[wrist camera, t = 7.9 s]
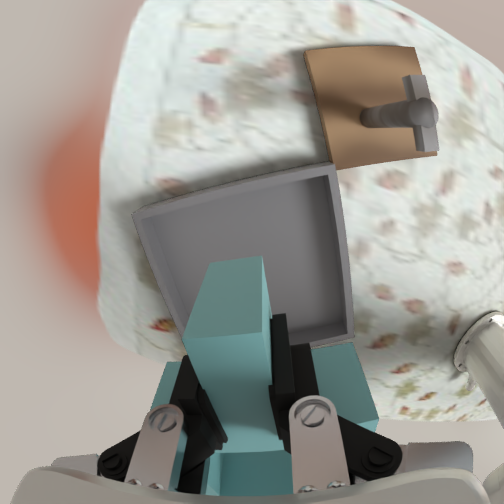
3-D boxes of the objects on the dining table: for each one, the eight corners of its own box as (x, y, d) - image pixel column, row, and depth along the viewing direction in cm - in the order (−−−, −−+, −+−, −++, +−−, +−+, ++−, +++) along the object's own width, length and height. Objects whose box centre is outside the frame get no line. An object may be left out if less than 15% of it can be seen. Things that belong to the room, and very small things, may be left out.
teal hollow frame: (353, 242, 10) (402, 307, 6) (342, 435, 16) (353, 489, 12) (130, 273, 11) (78, 340, 7) (213, 446, 16) (206, 500, 12)
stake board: (430, 154, 25) (504, 171, 14) (331, 168, 27) (376, 192, 16) (408, 50, 21) (473, 21, 10) (303, 54, 22) (329, 5, 11)
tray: (348, 322, 34) (354, 337, 31) (198, 349, 36) (194, 364, 33) (327, 161, 26) (334, 164, 24) (142, 206, 29) (131, 214, 26)
